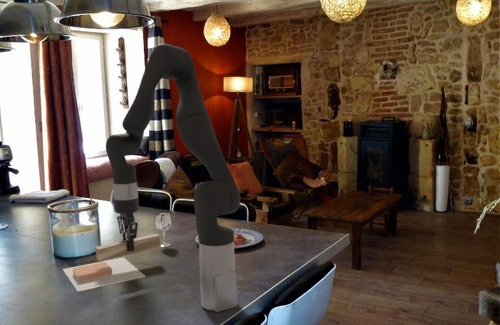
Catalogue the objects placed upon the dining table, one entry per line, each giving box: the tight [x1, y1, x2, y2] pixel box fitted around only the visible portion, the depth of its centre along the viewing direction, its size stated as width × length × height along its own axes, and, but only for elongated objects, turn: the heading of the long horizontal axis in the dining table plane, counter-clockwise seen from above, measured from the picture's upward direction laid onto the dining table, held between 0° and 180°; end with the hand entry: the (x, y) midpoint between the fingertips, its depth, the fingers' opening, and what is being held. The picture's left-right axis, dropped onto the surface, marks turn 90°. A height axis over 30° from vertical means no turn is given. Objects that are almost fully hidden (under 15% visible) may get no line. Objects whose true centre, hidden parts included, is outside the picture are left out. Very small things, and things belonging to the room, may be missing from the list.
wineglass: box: [155, 212, 172, 248], centre depth 179 cm, size 6×6×12 cm
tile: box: [73, 262, 112, 282], centre depth 147 cm, size 8×2×10 cm
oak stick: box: [94, 233, 161, 262], centre depth 152 cm, size 3×20×4 cm, turn 122°
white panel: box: [62, 256, 146, 292], centre depth 149 cm, size 22×20×1 cm
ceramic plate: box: [195, 227, 264, 250], centre depth 182 cm, size 26×26×3 cm
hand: (128, 249), depth 152 cm, fingers closed on oak stick, 3 cm apart
